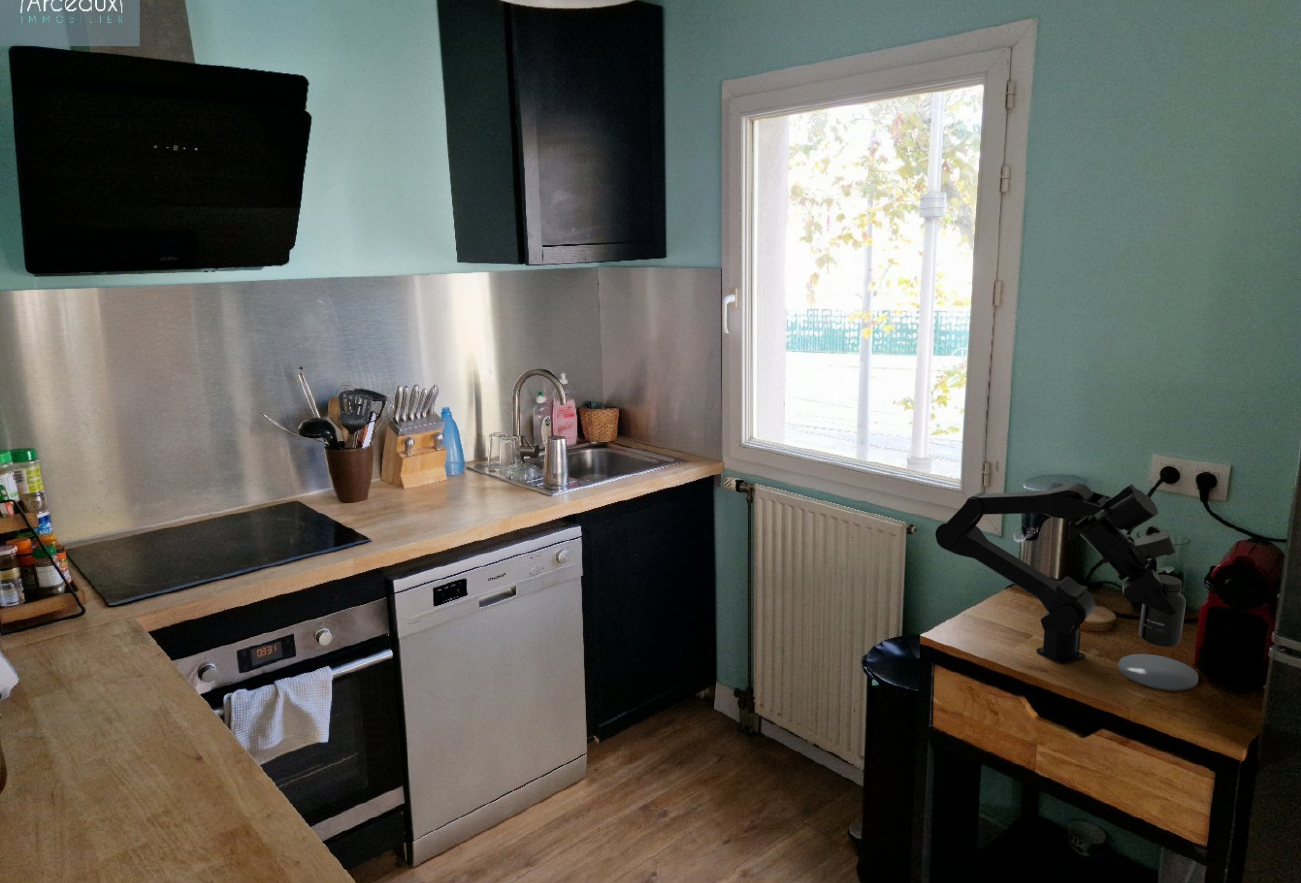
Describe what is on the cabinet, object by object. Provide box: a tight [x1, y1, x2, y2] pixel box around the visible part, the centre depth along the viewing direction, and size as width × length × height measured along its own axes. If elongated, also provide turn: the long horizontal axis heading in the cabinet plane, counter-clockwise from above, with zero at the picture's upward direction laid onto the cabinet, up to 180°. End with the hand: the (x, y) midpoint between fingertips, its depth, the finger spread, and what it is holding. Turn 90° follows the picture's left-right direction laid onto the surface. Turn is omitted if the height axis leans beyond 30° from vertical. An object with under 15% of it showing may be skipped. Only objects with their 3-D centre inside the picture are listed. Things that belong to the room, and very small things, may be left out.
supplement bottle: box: [1138, 574, 1187, 648], centre depth 164 cm, size 7×7×12 cm
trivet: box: [1117, 653, 1199, 692], centre depth 166 cm, size 13×13×1 cm
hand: (1171, 606), depth 164 cm, fingers closed on supplement bottle, 7 cm apart
